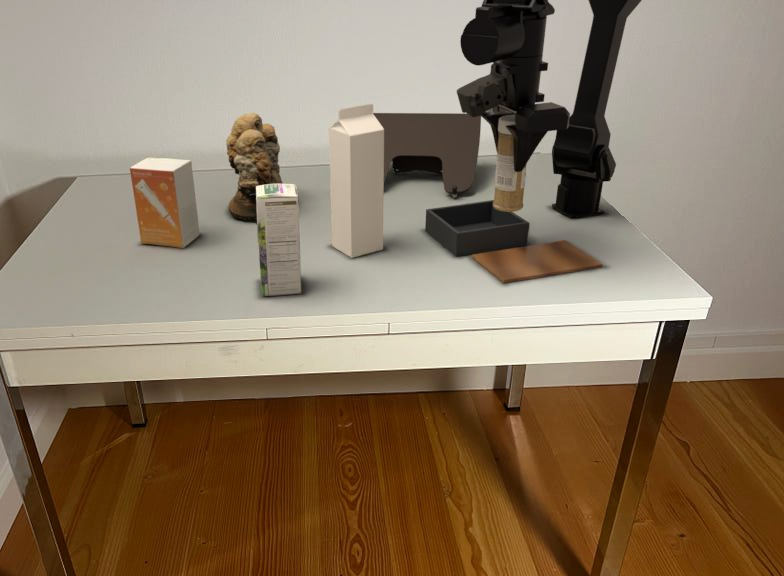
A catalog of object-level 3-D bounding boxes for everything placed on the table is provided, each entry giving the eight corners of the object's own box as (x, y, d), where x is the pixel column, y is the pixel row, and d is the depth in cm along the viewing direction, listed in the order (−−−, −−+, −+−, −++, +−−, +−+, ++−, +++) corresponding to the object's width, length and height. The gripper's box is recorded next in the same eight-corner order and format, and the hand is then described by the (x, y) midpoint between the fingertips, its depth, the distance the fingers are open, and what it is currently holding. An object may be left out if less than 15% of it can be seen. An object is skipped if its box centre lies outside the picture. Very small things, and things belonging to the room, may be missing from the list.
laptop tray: (353, 219, 148) (349, 185, 141) (369, 139, 160) (366, 104, 153) (473, 224, 144) (475, 188, 136) (479, 141, 155) (482, 104, 148)
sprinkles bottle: (529, 208, 114) (538, 117, 107) (507, 215, 112) (515, 122, 105) (507, 200, 117) (514, 111, 110) (485, 207, 115) (492, 117, 108)
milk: (383, 250, 120) (385, 107, 108) (350, 258, 117) (350, 113, 106) (362, 238, 124) (362, 99, 113) (330, 246, 122) (327, 105, 110)
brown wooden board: (564, 243, 119) (565, 240, 119) (602, 267, 110) (603, 263, 110) (471, 257, 115) (471, 254, 115) (503, 283, 107) (503, 280, 107)
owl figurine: (287, 224, 131) (281, 124, 122) (220, 224, 132) (210, 126, 124) (299, 191, 146) (294, 100, 138) (239, 192, 148) (231, 102, 139)
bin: (491, 221, 128) (493, 199, 126) (527, 245, 118) (529, 222, 117) (425, 231, 126) (425, 209, 124) (455, 256, 116) (457, 233, 114)
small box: (140, 244, 126) (128, 167, 119) (159, 231, 131) (148, 156, 124) (183, 249, 124) (173, 170, 117) (201, 235, 129) (192, 159, 122)
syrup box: (260, 280, 111) (253, 184, 104) (300, 277, 112) (295, 181, 104) (261, 297, 107) (254, 197, 99) (303, 294, 107) (298, 194, 99)
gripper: (438, 49, 109) (434, 156, 117) (499, 70, 94) (489, 192, 102) (508, 43, 112) (499, 148, 120) (579, 62, 96) (563, 182, 104)
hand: (510, 167), depth 111 cm, fingers closed on sprinkles bottle, 4 cm apart
